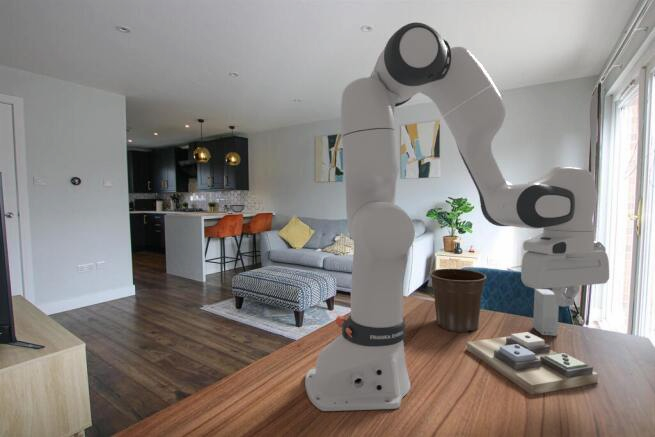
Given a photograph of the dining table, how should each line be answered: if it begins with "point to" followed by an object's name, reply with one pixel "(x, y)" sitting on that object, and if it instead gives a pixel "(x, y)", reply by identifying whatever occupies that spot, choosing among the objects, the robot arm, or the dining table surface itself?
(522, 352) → the two dot key
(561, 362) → the three dot key
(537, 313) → the skincare box
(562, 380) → the key board
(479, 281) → the plant pot
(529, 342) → the one dot key
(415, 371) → the dining table surface
